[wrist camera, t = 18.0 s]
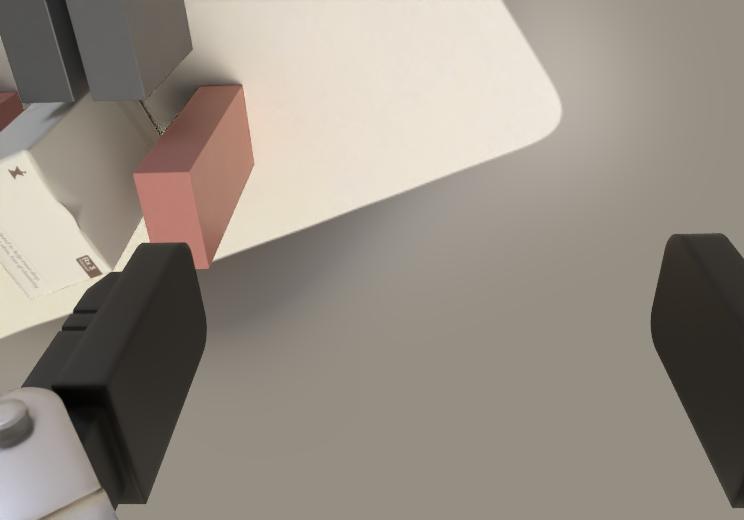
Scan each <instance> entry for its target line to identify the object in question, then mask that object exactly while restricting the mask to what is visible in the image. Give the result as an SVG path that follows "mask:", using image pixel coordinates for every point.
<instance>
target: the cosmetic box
mask: <svg viewBox="0 0 744 520" xmlns="http://www.w3.org/2000/svg"><path fill="white" fill-rule="evenodd" d="M160 137H161V136H160V135H159V133H158V131H157V130H156V128H155V126H154V125H153V123H152V121H151V120H150V118H149V116H148V115H147V113H146V111H145V109H144V108H143V106H142V104H141V103H140V101H139V100H125V101H93V100H92V96H91V92H90V89H89V90H88V91H87V92H85V93H84V94H83V95H82V96H81V97H79V98H78V99H77V100H76V101H75V102H53V103H32V104H31V105H30V106H29V107H28V108H27V109H25V110H24V111H23V112H22V113H21V114H20V115H19V116H18V117H17V118H16V119H14V120H13V121H12V122H11V123H10V124H9V125H8V126H7V127H6V128H4V129H3V130H2V131H1V132H0V264H1V265H2V266H3V267H4V268H5V270H6V271H7V272H8V273H9V274H10V276H11V277H12V278H13V279H14V280H15V282H16V283H17V284H18V285H19V287H20V288H21V289H22V290H23V291H24V293H25V294H26V295H27V296H28V297H29V299H31V300H32V299H35V298H38V297H41V296H44V295H47V294H49V293H52V292H55V291H58V290H60V289H63V288H66V287H69V286H72V285H74V284H77V283H80V282H83V281H86V280H88V279H91V278H94V277H97V276H100V275H103V274H106V273H109V272H112V271H113V270H114V268H115V266H116V264H117V262H118V260H119V259H120V257H121V255H122V253H123V251H124V250H125V248H126V246H127V244H128V242H129V240H130V239H131V237H132V235H133V233H134V231H135V230H136V228H137V226H138V224H139V223H140V221H141V219H142V217H143V212H142V208H141V204H140V200H139V196H138V192H137V188H136V184H135V180H134V176H133V172H134V171H135V170H136V169H137V167H138V166H139V165H140V163H141V162H142V161H143V159H144V158H145V157H146V156H147V154H148V153H149V152H150V150H151V149H152V148H153V146H154V145H155V144H156V143H157V141H158V140H159V139H160Z"/></svg>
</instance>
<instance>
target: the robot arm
mask: <svg viewBox="0 0 744 520" xmlns="http://www.w3.org/2000/svg"><path fill="white" fill-rule="evenodd" d="M206 332H207V326H206V316H205V310H204V306H203V301H202V297H201V292H200V287H199V283H198V279H197V274H196V269H195V265H194V260H193V256H192V252H191V249H190V247H189V245H188V244H187V243H185V242H166V243H141V244H140V245H139V246H138V247H137V249H136V250H135V252H134V253H133V255H132V257H131V258H130V260H129V261H128V263H127V265H126V266H125V268H124V269H123V271H122V272H110V273H109V274H108V275H106V276H105V277H104V278H102V279H101V280H100V281H98V282H97V283H95V284H94V285H93V286H91V287H90V288H89V289H87V290H86V292H85V293H84V295H83V296H82V298H81V299H80V301H79V302H78V304H77V305H76V307H75V308H74V310H73V314H70V316H69V317H68V319H67V320H66V321H65V323H64V325H63V326H62V331H59V332H58V333H57V335H56V336H55V338H54V339H53V341H52V342H51V344H50V345H49V347H48V348H47V350H46V351H45V352H44V354H43V356H42V357H41V358H40V360H39V361H38V363H37V364H36V366H35V367H34V369H33V370H32V372H31V373H30V375H29V376H28V378H27V379H26V381H25V382H24V384H23V385H22V386H21V388H17V389H13V390H9V391H5V392H2V393H0V520H118V518H117V515H116V513H115V511H116V508H117V506H118V504H146V503H147V500H148V497H149V495H150V492H151V490H152V487H153V484H154V482H155V479H156V476H157V474H158V471H159V468H160V466H161V463H162V460H163V458H164V455H165V452H166V450H167V447H168V444H169V442H170V439H171V437H172V434H173V431H174V429H175V425H176V423H177V420H178V418H179V415H180V413H181V410H182V407H183V405H184V402H185V399H186V397H187V394H188V391H189V388H190V386H191V383H192V381H193V378H194V375H195V373H196V370H197V367H198V365H199V362H200V359H201V357H202V354H203V351H204V348H205V343H206ZM651 333H652V339H653V343H654V346H655V348H656V351H657V353H658V355H659V357H660V359H661V361H662V363H663V365H664V367H665V369H666V371H667V374H668V376H669V378H670V379H671V381H672V384H673V386H674V388H675V390H676V392H677V394H678V396H679V398H680V400H681V402H682V405H683V406H684V409H685V411H686V413H687V415H688V417H689V419H690V421H691V423H692V425H693V427H694V429H695V431H696V433H697V436H698V438H699V440H700V442H701V444H702V446H703V448H704V450H705V452H706V454H707V456H708V458H709V460H710V462H711V465H712V466H713V468H714V471H715V473H716V475H717V477H718V479H719V481H720V483H721V485H722V487H723V489H724V491H725V494H726V496H727V498H728V500H729V502H730V504H731V506H732V507H733V508H744V259H743V257H742V256H741V255H740V253H739V252H738V251H737V250H736V248H735V247H734V246H733V245H732V243H731V242H730V241H729V239H728V238H727V237H726V236H725V235H723V234H721V233H717V234H716V233H713V234H674V235H672V236H671V237H670V238H669V240H668V241H667V244H666V248H665V252H664V256H663V261H662V265H661V270H660V274H659V279H658V284H657V288H656V293H655V297H654V302H653V306H652V312H651Z"/></svg>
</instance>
